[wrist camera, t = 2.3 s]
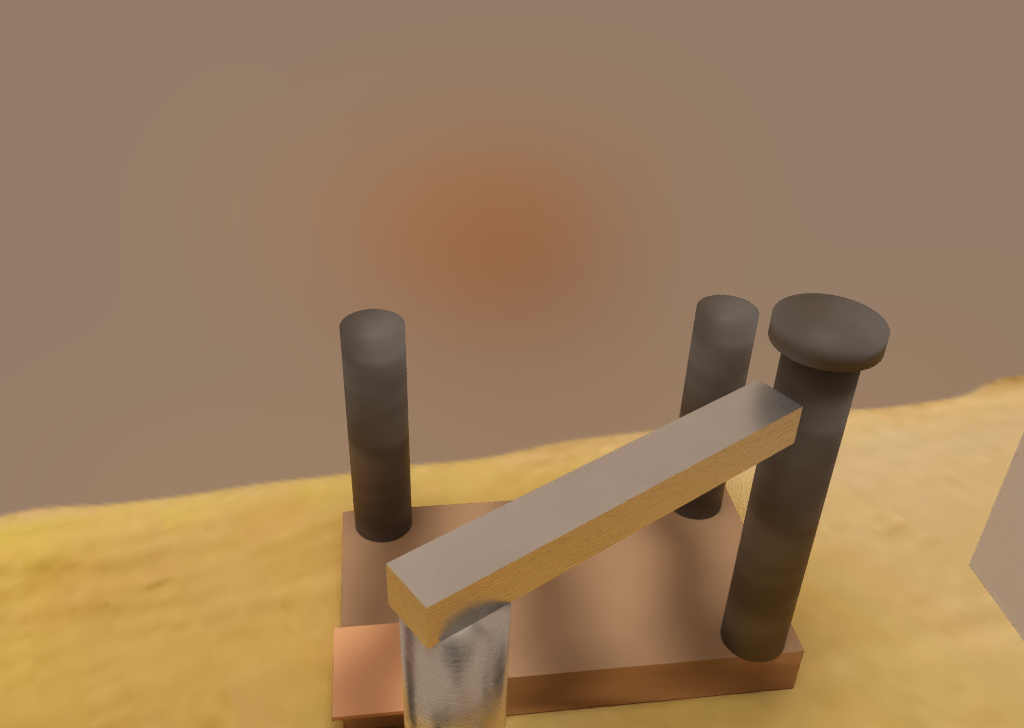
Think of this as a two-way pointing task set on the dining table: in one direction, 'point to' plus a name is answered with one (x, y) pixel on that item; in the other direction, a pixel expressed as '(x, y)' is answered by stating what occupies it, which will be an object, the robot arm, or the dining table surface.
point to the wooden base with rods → (630, 562)
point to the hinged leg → (556, 548)
